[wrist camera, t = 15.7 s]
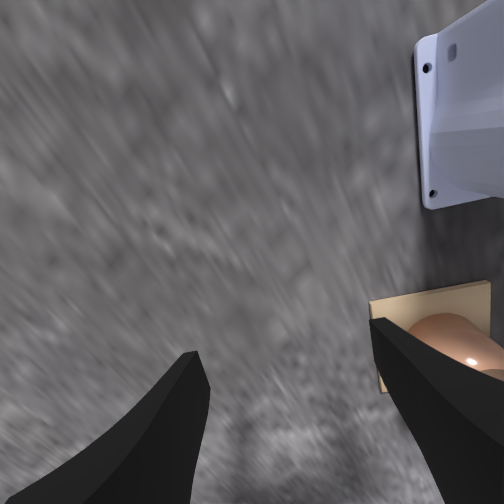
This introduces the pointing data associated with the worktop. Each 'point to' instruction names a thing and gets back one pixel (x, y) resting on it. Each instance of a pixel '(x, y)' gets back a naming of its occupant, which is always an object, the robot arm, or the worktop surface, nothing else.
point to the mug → (461, 342)
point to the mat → (437, 306)
